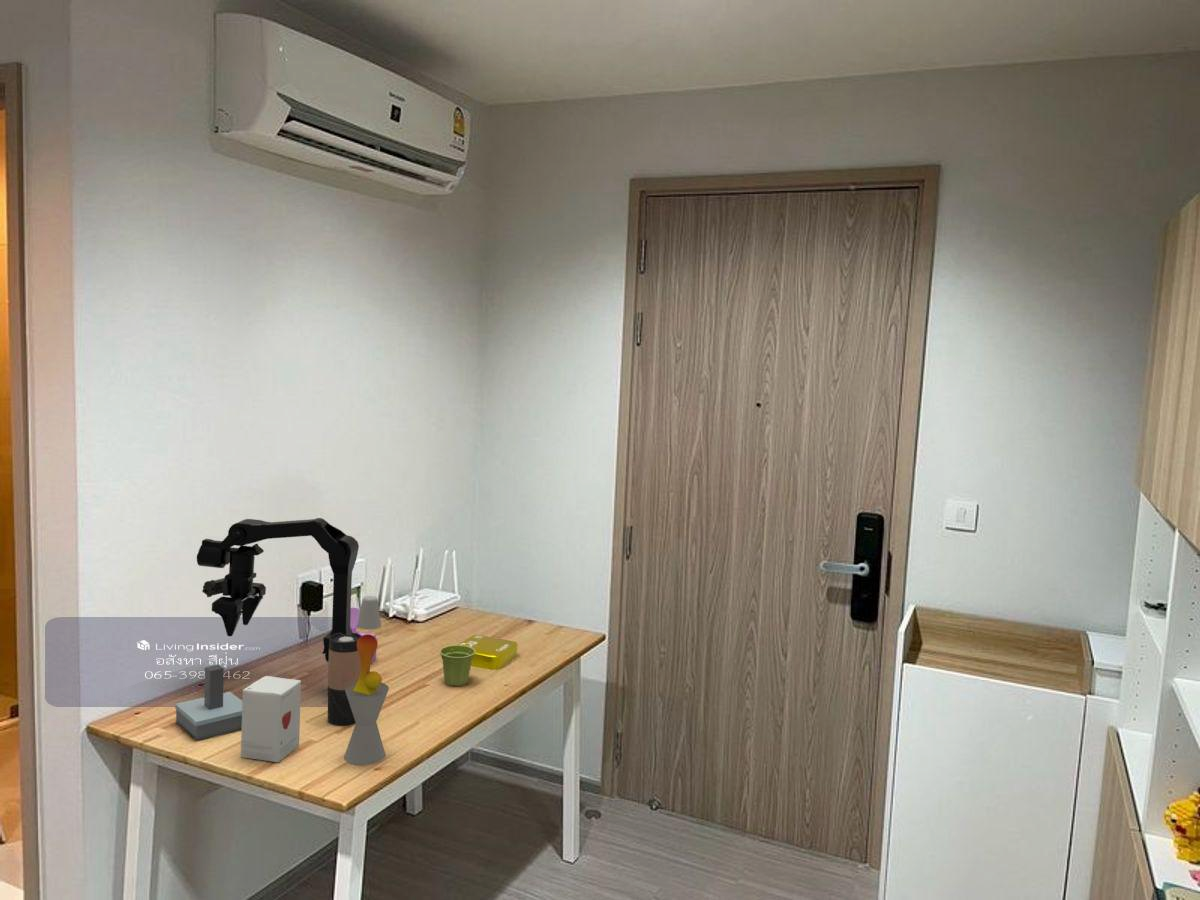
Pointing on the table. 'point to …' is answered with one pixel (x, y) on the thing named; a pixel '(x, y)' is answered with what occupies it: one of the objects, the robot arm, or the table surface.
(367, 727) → the lava lamp
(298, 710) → the supplement box
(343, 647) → the travel mug
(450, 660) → the plant pot
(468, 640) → the element tile
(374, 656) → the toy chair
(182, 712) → the slate lid
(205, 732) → the storage box
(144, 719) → the table surface
